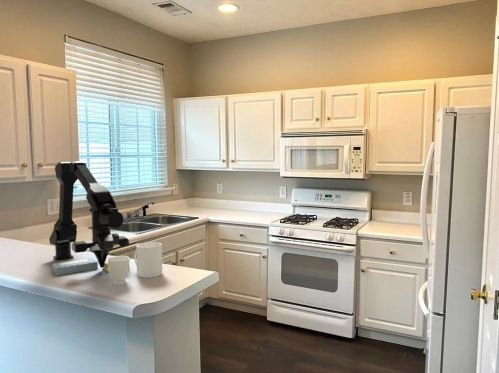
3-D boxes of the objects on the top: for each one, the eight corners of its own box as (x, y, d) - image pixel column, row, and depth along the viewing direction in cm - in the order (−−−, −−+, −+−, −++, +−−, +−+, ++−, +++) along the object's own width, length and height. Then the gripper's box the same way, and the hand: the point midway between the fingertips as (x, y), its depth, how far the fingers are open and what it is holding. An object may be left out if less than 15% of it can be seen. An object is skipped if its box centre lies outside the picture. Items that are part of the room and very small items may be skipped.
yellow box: (102, 267, 144) (102, 261, 144) (124, 264, 149) (123, 257, 149) (107, 271, 139) (107, 264, 139) (129, 267, 144) (129, 260, 144)
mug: (144, 268, 144) (143, 239, 143) (167, 273, 137) (166, 243, 137) (125, 274, 137) (124, 244, 136) (148, 280, 130) (148, 248, 130)
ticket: (52, 270, 142) (52, 263, 141) (92, 264, 150) (92, 257, 150) (56, 275, 136) (56, 268, 135) (97, 268, 144) (97, 261, 144)
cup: (115, 287, 123) (114, 262, 123) (99, 280, 130) (98, 257, 129) (134, 281, 128) (134, 257, 128) (118, 275, 135) (117, 253, 134)
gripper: (78, 231, 128) (79, 277, 129) (133, 225, 139) (134, 268, 140) (70, 226, 137) (72, 269, 138) (123, 221, 148) (124, 261, 149)
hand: (101, 267), depth 141 cm, fingers closed
